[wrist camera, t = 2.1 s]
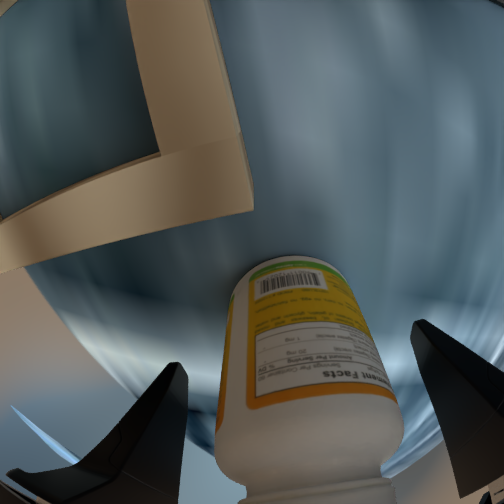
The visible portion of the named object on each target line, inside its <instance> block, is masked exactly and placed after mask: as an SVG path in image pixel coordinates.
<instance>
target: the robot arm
mask: <svg viewBox="0 0 504 504" xmlns="http://www.w3.org/2000/svg"><path fill="white" fill-rule="evenodd" d="M490 1H492V2H494V3H496V4H498V5H500V6H502V7H504V0H490ZM410 340H411V344H412V347H413V350H414V354H415V357H416V360H417V364H418V367H419V371H420V374H421V377H422V379H423V382H424V384H425V387H426V389H427V392H428V394H429V397H430V400H431V402H432V405H433V408H434V410H435V413H436V416H437V419H438V422H439V425H440V428H441V431H442V434H443V437H444V440H445V443H446V447H447V450H448V453H449V456H450V460H451V464H452V468H453V472H454V476H455V479H456V484H457V488H458V492H459V496H460V499H461V498H463V497H465V496H467V495H469V494H471V493H473V492H475V491H477V490H479V489H481V488H483V487H484V486H486V485H488V487H489V491H488V492H486V493H485V494H484V495H483V496H482V499H481V501H480V502H479V504H504V372H502V371H501V370H499V369H498V368H496V367H495V366H493V365H492V364H491V363H489V362H487V361H486V360H485V359H483V358H482V357H480V356H479V355H477V354H476V353H474V352H473V351H472V350H470V349H469V348H467V347H466V346H464V345H463V344H461V343H460V342H458V341H457V340H455V339H454V338H452V337H451V336H449V335H448V334H446V333H445V332H443V331H442V330H440V329H439V328H437V327H436V326H434V325H432V324H431V323H429V322H428V321H426V320H425V319H420V320H417V321H414V323H413V326H412V331H411V335H410ZM187 415H188V375H187V373H186V371H185V370H184V368H183V367H182V365H181V363H179V362H171V363H169V364H168V365H167V366H166V367H165V368H164V369H163V371H162V372H161V373H160V374H159V375H158V376H157V378H156V379H155V380H154V381H153V382H152V384H151V385H150V386H149V387H148V388H147V389H146V391H145V392H144V393H143V394H142V395H141V397H140V398H139V399H138V400H137V401H136V402H135V404H134V405H133V406H132V407H131V408H130V409H129V411H128V412H127V413H126V414H125V415H124V417H123V418H122V419H121V420H120V421H119V423H118V424H117V425H116V426H115V427H114V428H113V429H112V430H111V431H110V433H109V434H108V435H107V436H106V437H105V438H104V439H103V440H102V441H101V442H100V443H99V444H98V445H97V446H96V447H95V448H94V449H92V450H91V452H89V453H88V454H87V455H86V456H85V457H84V458H83V459H82V460H80V461H79V462H78V463H76V464H74V465H72V466H70V467H65V468H61V469H55V470H50V471H44V472H38V473H27V472H24V471H23V470H21V469H19V468H16V469H12V470H10V471H8V472H7V473H6V476H8V477H9V478H10V479H12V480H13V481H15V482H16V483H18V484H19V485H21V486H22V487H24V488H25V489H27V490H28V491H30V492H31V493H33V494H35V495H36V496H37V500H34V499H32V498H30V497H28V496H27V495H25V494H23V493H21V492H19V491H18V490H16V489H14V488H13V487H11V486H9V485H8V484H6V483H4V482H3V481H1V480H0V504H178V496H179V486H180V475H181V466H182V456H183V448H184V439H185V431H186V423H187Z"/></svg>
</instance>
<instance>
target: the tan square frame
mask: <svg viewBox="0 0 504 504" xmlns="http://www.w3.org/2000/svg"><path fill="white" fill-rule="evenodd" d="M17 1H18V0H0V17H1V16H2V15H3V14H4V13H5V12H6V11H7V10H8V9H9V8H10V7H11V6H12V5H13V4H14V3H16V2H17ZM126 5H127V11H128V17H129V23H130V28H131V33H132V38H133V43H134V48H135V53H136V58H137V62H138V67H139V71H140V76H141V80H142V84H143V89H144V93H145V97H146V101H147V105H148V109H149V113H150V117H151V121H152V124H153V128H154V132H155V136H156V139H157V143H158V146H159V150H160V152H157V153H154V154H151V155H148V156H145V157H142V158H139V159H136V160H133V161H130V162H128V163H125V164H122V165H119V166H117V167H114V168H111V169H109V170H106V171H104V172H101V173H99V174H96V175H94V176H91V177H89V178H86V179H84V180H82V181H79V182H77V183H75V184H72V185H70V186H68V187H66V188H64V189H61V190H59V191H57V192H55V193H53V194H51V195H49V196H47V197H45V198H43V199H41V200H39V201H37V202H35V203H33V204H31V205H29V206H27V207H25V208H23V209H21V210H19V211H18V212H16V213H14V214H12V215H10V216H9V217H7V218H5V219H2V217H1V214H0V274H2V273H5V272H8V271H11V270H15V269H18V268H21V267H24V266H28V265H31V264H34V263H38V262H41V261H45V260H48V259H51V258H55V257H58V256H62V255H66V254H69V253H73V252H76V251H80V250H84V249H88V248H91V247H95V246H99V245H103V244H107V243H110V242H114V241H118V240H122V239H126V238H130V237H134V236H138V235H143V234H147V233H151V232H155V231H159V230H164V229H168V228H172V227H177V226H181V225H186V224H190V223H195V222H199V221H204V220H209V219H213V218H218V217H223V216H228V215H233V214H237V213H242V212H247V211H253V208H254V184H253V180H252V175H251V171H250V166H249V162H248V158H247V153H246V149H245V144H244V140H243V136H242V131H241V127H240V123H239V118H238V114H237V110H236V106H235V101H234V97H233V93H232V89H231V85H230V80H229V76H228V72H227V68H226V64H225V60H224V56H223V52H222V48H221V44H220V40H219V36H218V32H217V28H216V24H215V20H214V16H213V12H212V8H211V4H210V0H126Z"/></svg>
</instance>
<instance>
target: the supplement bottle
mask: <svg viewBox="0 0 504 504" xmlns="http://www.w3.org/2000/svg"><path fill="white" fill-rule="evenodd" d="M403 435H404V422H403V419H402V415H401V412H400V409H399V406H398V403H397V400H396V397H395V394H394V392H393V389H392V387H391V384H390V381H389V379H388V376H387V373H386V371H385V368H384V366H383V363H382V361H381V358H380V356H379V353H378V351H377V348H376V346H375V343H374V341H373V338H372V336H371V334H370V331H369V329H368V327H367V324H366V322H365V320H364V317H363V315H362V313H361V310H360V308H359V306H358V304H357V301H356V299H355V297H354V295H353V292H352V290H351V289H350V287H349V285H348V283H347V281H346V280H345V278H344V277H343V276H342V274H341V273H340V272H339V271H338V270H337V269H336V268H334V267H333V266H332V265H330V264H328V263H326V262H324V261H322V260H319V259H316V258H312V257H307V256H284V257H279V258H275V259H272V260H268V261H266V262H264V263H261V264H260V265H258V266H256V267H254V268H253V269H252V270H250V271H249V272H248V273H247V274H246V275H244V277H243V278H242V279H241V280H240V281H239V282H238V284H237V285H236V287H235V289H234V291H233V293H232V295H231V298H230V303H229V308H228V316H227V326H226V335H225V345H224V354H223V363H222V372H221V381H220V391H219V400H218V410H217V418H216V429H215V449H214V452H215V459H216V462H217V465H218V466H219V468H220V470H221V471H222V472H223V473H224V474H225V475H226V476H227V477H228V478H229V479H231V480H233V481H235V482H236V483H239V484H241V485H244V486H246V490H247V498H245V499H242V500H240V501H239V502H238V504H397V502H396V495H395V488H394V486H392V485H391V483H392V481H391V479H389V478H384V477H382V476H381V472H380V467H381V465H382V464H383V463H385V462H386V461H387V460H388V459H389V458H391V456H392V455H393V454H394V453H395V452H396V451H397V449H398V448H399V446H400V444H401V442H402V439H403Z"/></svg>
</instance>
